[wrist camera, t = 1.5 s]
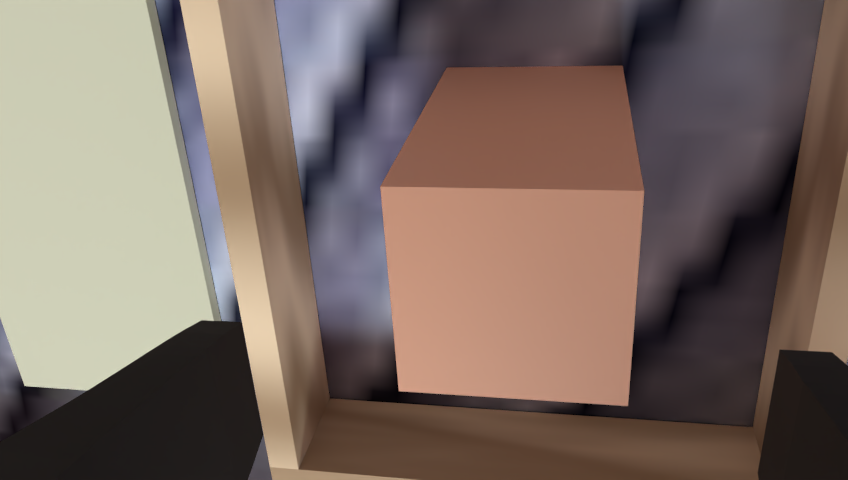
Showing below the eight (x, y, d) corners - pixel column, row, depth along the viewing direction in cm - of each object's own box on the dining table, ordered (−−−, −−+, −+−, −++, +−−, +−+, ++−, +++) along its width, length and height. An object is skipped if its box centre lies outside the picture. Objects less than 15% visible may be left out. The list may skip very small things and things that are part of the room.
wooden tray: (779, 451, 22) (806, 537, 19) (307, 417, 24) (274, 489, 22) (928, -324, 14) (1010, -359, 11) (200, -257, 16) (127, -273, 14)
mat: (235, 392, 24) (230, 400, 24) (32, 378, 25) (24, 386, 25) (112, -205, 17) (101, -206, 17) (-164, -183, 18) (-179, -183, 18)
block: (613, 225, 20) (627, 406, 13) (453, 221, 20) (398, 390, 14) (622, 65, 18) (644, 191, 12) (446, 67, 18) (379, 187, 12)
